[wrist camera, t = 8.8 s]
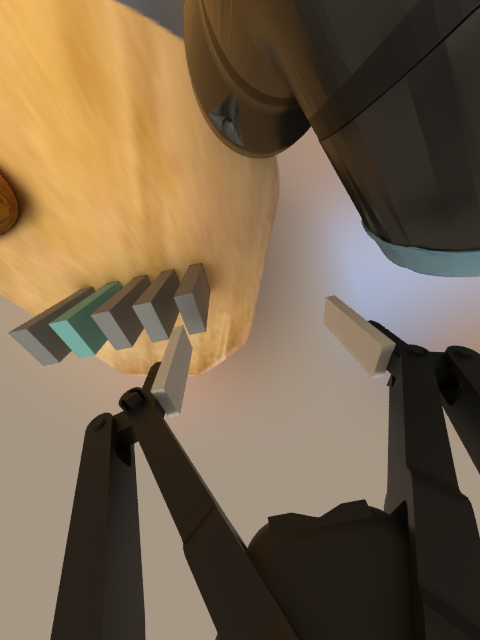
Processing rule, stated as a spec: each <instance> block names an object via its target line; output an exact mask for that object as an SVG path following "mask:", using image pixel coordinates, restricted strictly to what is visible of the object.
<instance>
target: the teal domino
mask: <svg viewBox="0 0 480 640" xmlns="http://www.w3.org/2000/svg"><path fill="white" fill-rule="evenodd" d="M122 288H123V287H122V286H121V284H120V282H119V281H117V282H113V283H108V284H106V285H104V286H103V287H101V288H100V289H99V290H97V291H96V292H94V293H93V294H91V295H90V296H88V297H87V298H85V299H84V300H83V301H81V302H80V303H78V304H77V305H75V306H74V307H72V308H71V309H69V310H68V311H67V312H65V313H64V314H62V315H61V316H59V317H58V318H56V319H55V320H54V321H52V322H51V323H49V326H50V327H51V328H52V329H53V330H54V331H55V332H56V333H57V334H58V336H59V337H60V338H61V339H62V340H63V341H64V342H65V343H66V344H67V345H68V347H69V348H70V349H71V350H72V351H73V352H74V353H75V354H76V355H77V357H78V358H82V357H87V356H91V355H95V354H96V353H97V352H98V351H99V350H100V348H101V347H102V346H103V345H104V344H105V342H106V341H107V340H108V339H107V337H106V336H105V334H104V333H103V332H102V330H101V329H100V328H99V326H98V325H97V323H96V322H95V321H94V319H93V318H92V317H91V314H92V313H93V312H95V311H96V310H97V309H98V308H99V307H101V306H102V305H103V304H104V303H105V302H107V301H108V300H109V299H110V298H111V297H112V296H114V295H115V294H116V293H117V292H118V291H120V290H121V289H122Z"/></svg>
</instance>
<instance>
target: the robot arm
mask: <svg viewBox="0 0 480 640" xmlns="http://www.w3.org/2000/svg"><path fill="white" fill-rule="evenodd" d="M184 42H185V51H186V58H187V64H188V69H189V74H190V78H191V83H192V87H193V90H194V94H195V97H196V100H197V102H198V105H199V107H200V110H201V112H202V114H203V116H204V118H205V120H206V122H207V123H208V125H209V126H210V128H211V129H212V131H213V132H214V133H215V135H216V136H217V137H218V138H219V139H220V140H221V141H222V142H223V143H224V144H225V145H226V146H228V147H229V148H230V149H232V150H233V151H235V152H237V153H239V154H241V155H244V156H247V157H252V158H265V157H270V156H274V155H276V154H279V153H281V152H283V151H284V150H286V149H287V148H289V147H290V146H291V145H293V144H294V143H295V142H296V141H297V140H299V139H300V138H301V137H302V136H303V135H304V134H305V133H306V132H307V131H308V129H309V128H310V127H311V126H312V128H313V130H314V131H315V133H316V135H317V136H318V139H319V142H320V144H321V145H322V148H323V149H324V151H325V153H326V155H327V156H328V158H329V160H330V162H331V164H332V166H333V167H334V169H335V171H336V173H337V175H338V176H339V178H340V180H341V182H342V184H343V185H344V187H345V189H346V191H347V193H348V194H349V196H350V198H351V200H352V202H353V203H354V205H355V207H356V209H357V210H358V212H359V214H360V216H361V218H362V221H361V222H362V225H363V228H364V229H365V231H366V232H367V234H368V235H369V236H370V237H371V238H372V239H374V240H375V241H376V243H377V244H378V246H379V247H380V249H381V250H382V252H383V253H384V254H385V256H386V257H387V258H388V259H389V260H390V261H392V262H393V263H394V264H396V265H398V266H400V267H404V268H408V269H410V270H413V271H414V272H417V273H421V274H426V275H433V276H442V277H476V276H480V0H185V2H184ZM324 324H325V325H326V326H327V328H328V329H329V330H330V331H331V332H332V333H333V334H334V336H335V337H336V338H337V339H338V340H339V341H340V342H341V343H342V345H343V346H344V347H345V348H346V349H347V350H348V351H349V353H350V354H351V355H352V356H353V357H354V358H355V359H356V360H357V362H358V363H359V364H360V365H361V366H362V367H363V368H364V370H365V371H366V372H367V373H368V374H369V375H370V376H371V377H372V378H377V377H382V376H384V375H385V372H386V370H388V372H390V373H391V376H390V379H389V381H388V383H387V386H389V385H390V387H389V435H388V483H387V494H386V498H385V504H384V511H382V510H380V509H377V508H374V507H371V506H368V504H367V502H366V500H359V501H353V502H348V503H342V504H340V505H338V506H337V507H335V508H334V509H332V510H331V511H329V512H327V513H326V514H324V515H323V516H321V517H312V516H306V515H301V514H296V513H288V514H282V515H276V516H271V517H268V522H269V523H268V524H266V525H264V526H263V527H262V528H261V529H260V530H259V531H258V532H257V533H256V535H255V536H254V537H253V539H252V540H251V542H250V544H249V546H248V548H247V547H246V546H245V544H244V542H243V541H242V539H241V538H240V536H239V535H238V533H237V531H236V530H235V529H234V527H233V526H232V524H231V523H230V521H229V520H228V518H227V517H226V515H225V513H224V512H223V510H222V509H221V507H220V506H219V504H218V503H217V501H216V499H215V498H214V496H213V495H212V493H211V492H210V490H209V489H208V487H207V485H206V484H205V482H204V481H203V479H202V478H201V476H200V474H199V473H198V472H197V470H196V468H195V467H194V465H193V463H192V462H191V460H190V459H189V457H188V456H187V454H186V453H185V451H184V449H183V448H182V446H181V445H180V443H179V442H178V440H177V439H176V437H175V436H174V434H173V432H172V431H171V429H170V428H169V426H168V424H167V423H166V421H165V420H164V415H165V413H166V414H167V416H168V417H172V416H178V415H180V412H181V407H182V402H183V397H184V391H185V386H186V381H187V375H188V370H189V365H190V360H191V354H192V349H193V348H192V346H191V344H190V341H189V339H188V336H187V334H186V331H185V329H184V326H183V325H182V326H177V327H174V330H173V332H172V335H171V338H170V340H169V343H168V346H167V348H166V351H165V354H164V356H163V359H162V362H156V363H155V364H154V365H153V366H152V367H151V368H150V371H149V373H148V375H147V378H146V380H145V383H144V385H143V387H142V388H140V387H135V388H132V389H130V390H128V391H127V392H126V393H124V394H123V396H122V397H121V398H120V400H119V406H120V407H121V408H122V409H123V410H124V411H123V412H120V413H119V414H116V415H114V416H112V415H111V414H110V413H103V414H100V415H99V416H97V417H96V418H94V419H93V420H92V421H91V422H90V423H89V425H88V426H87V429H86V431H85V437H84V444H83V450H82V455H81V461H80V467H79V474H78V479H77V485H76V491H75V497H74V503H73V508H72V515H71V521H70V526H69V532H68V538H67V544H66V550H65V556H64V562H63V568H62V574H61V580H60V586H59V592H58V597H57V603H56V610H55V615H54V621H53V627H52V633H51V640H145V612H144V611H145V610H144V594H143V578H142V562H141V547H140V531H139V515H138V499H137V484H136V468H135V452H134V443H136V442H138V441H139V443H140V446H141V448H142V450H143V452H144V454H145V457H146V459H147V461H148V463H149V466H150V468H151V470H152V473H153V475H154V477H155V479H156V482H157V484H158V486H159V488H160V491H161V493H162V495H163V497H164V500H165V502H166V504H167V506H168V509H169V511H170V513H171V515H172V518H173V520H174V522H175V524H176V527H177V529H178V531H179V533H180V536H181V538H182V541H183V550H184V554H185V557H186V560H187V562H188V565H189V567H190V569H191V571H192V574H193V576H194V579H195V581H196V583H197V586H198V588H199V590H200V592H201V595H202V597H203V600H204V602H205V604H206V606H207V609H208V611H209V614H210V616H211V618H212V620H213V623H214V625H215V627H216V630H217V632H218V633H217V636H216V639H215V640H480V537H479V532H478V528H477V524H476V519H475V516H474V511H473V508H472V505H471V502H470V501H469V499H468V497H466V496H465V495H463V494H462V493H461V492H460V490H459V487H458V482H457V478H456V473H455V468H454V463H453V458H452V453H451V448H450V443H449V438H448V433H447V429H446V423H445V418H444V414H443V409H442V406H443V408H444V410H445V412H446V414H447V416H448V417H449V419H450V421H451V423H452V424H453V426H454V428H455V430H456V432H457V434H458V435H459V437H460V439H461V441H462V443H463V445H464V446H465V448H466V450H467V452H468V453H469V455H470V457H471V459H472V461H473V463H474V465H475V466H476V468H477V470H478V472H479V474H480V354H479V353H477V352H476V351H474V350H472V349H469V348H466V347H462V346H449V347H448V348H447V349H446V351H445V352H429V351H428V350H427V349H425V348H423V347H420V346H417V345H411V344H409V345H408V344H406V343H405V342H404V341H402V340H401V339H400V338H398V337H397V336H396V335H394V334H393V333H392V332H390V331H389V330H388V329H385V327H383V326H382V325H381V324H379V323H377V322H375V321H372V320H370V321H366V320H365V319H364V318H363V317H361V316H360V315H359V314H357V313H356V312H355V311H354V310H352V309H351V308H350V307H348V306H347V305H346V304H345V303H343V302H342V301H341V300H340V299H338V298H337V297H336V296H329V297H326V301H325V313H324Z"/></svg>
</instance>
